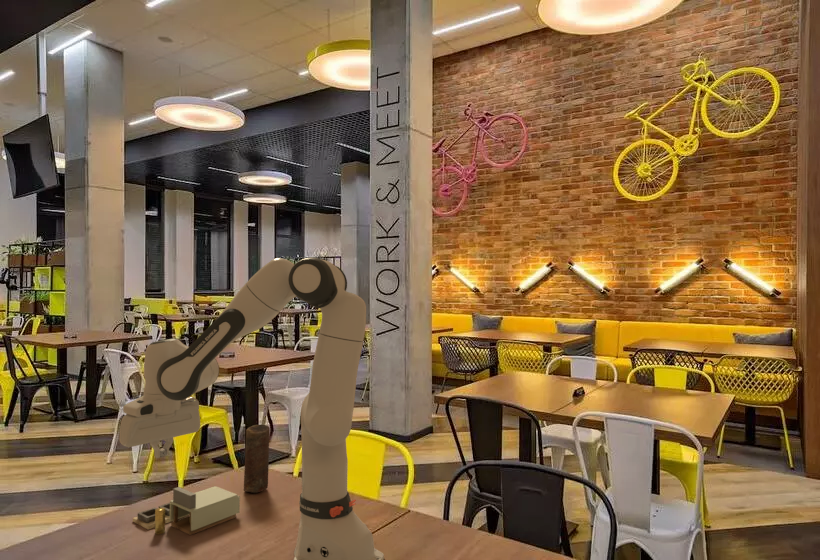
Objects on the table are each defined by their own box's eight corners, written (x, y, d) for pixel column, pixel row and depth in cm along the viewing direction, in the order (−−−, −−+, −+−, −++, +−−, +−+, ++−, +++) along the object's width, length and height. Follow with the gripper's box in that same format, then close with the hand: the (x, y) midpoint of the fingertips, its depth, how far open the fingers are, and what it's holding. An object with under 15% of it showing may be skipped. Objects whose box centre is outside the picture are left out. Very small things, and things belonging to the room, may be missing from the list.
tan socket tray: (189, 514, 160) (189, 505, 160) (148, 529, 150) (148, 520, 150) (173, 507, 165) (173, 499, 165) (132, 521, 155) (132, 512, 155)
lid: (239, 512, 158) (239, 481, 158) (192, 530, 147) (192, 497, 147) (216, 503, 165) (217, 473, 165) (169, 520, 153) (169, 487, 153)
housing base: (235, 517, 158) (236, 497, 158) (190, 535, 147) (190, 513, 147) (216, 509, 164) (216, 489, 164) (171, 525, 153) (171, 504, 153)
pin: (166, 532, 149) (167, 509, 149) (158, 535, 147) (158, 512, 147) (161, 529, 150) (162, 507, 150) (153, 532, 148) (153, 509, 148)
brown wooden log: (273, 488, 181) (273, 425, 180) (260, 496, 174) (261, 431, 174) (252, 485, 183) (253, 423, 183) (238, 493, 176) (239, 429, 176)
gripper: (192, 394, 156) (191, 444, 156) (116, 407, 139) (115, 463, 139) (205, 397, 152) (204, 449, 152) (129, 411, 136) (128, 469, 136)
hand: (161, 456), depth 146 cm, fingers closed
